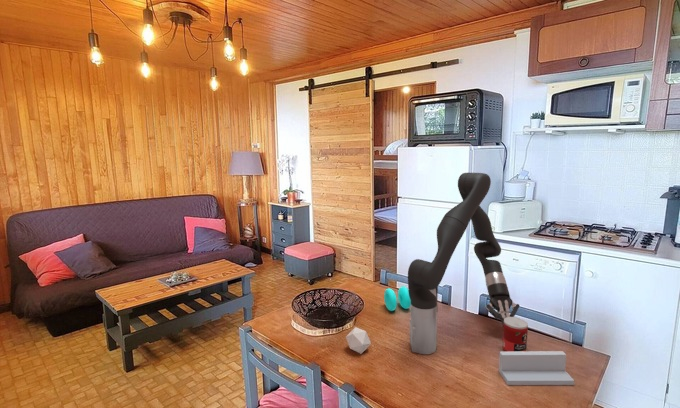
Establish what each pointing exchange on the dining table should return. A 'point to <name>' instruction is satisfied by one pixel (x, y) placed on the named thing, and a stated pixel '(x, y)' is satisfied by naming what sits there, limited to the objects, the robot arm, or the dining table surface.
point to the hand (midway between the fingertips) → (508, 329)
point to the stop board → (534, 368)
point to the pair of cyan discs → (392, 300)
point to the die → (358, 340)
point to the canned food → (515, 334)
